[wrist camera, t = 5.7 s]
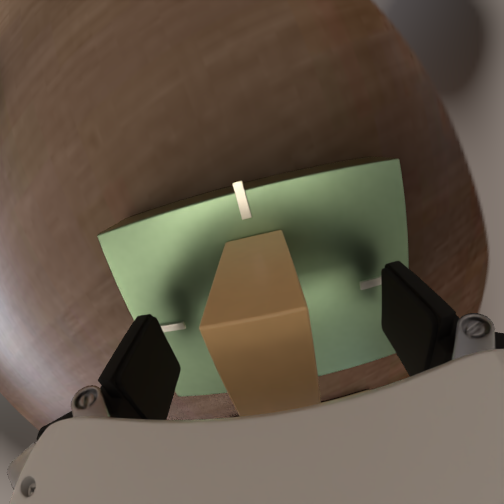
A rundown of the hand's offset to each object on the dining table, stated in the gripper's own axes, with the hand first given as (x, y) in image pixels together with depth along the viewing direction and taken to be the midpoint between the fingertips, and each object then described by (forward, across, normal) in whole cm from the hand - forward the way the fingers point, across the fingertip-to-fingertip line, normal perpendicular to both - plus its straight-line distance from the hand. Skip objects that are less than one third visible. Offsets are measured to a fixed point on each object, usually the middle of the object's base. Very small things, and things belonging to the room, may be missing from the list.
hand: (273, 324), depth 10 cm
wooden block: (+1, 0, 0) cm, 1 cm away
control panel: (+4, 0, 0) cm, 4 cm away
